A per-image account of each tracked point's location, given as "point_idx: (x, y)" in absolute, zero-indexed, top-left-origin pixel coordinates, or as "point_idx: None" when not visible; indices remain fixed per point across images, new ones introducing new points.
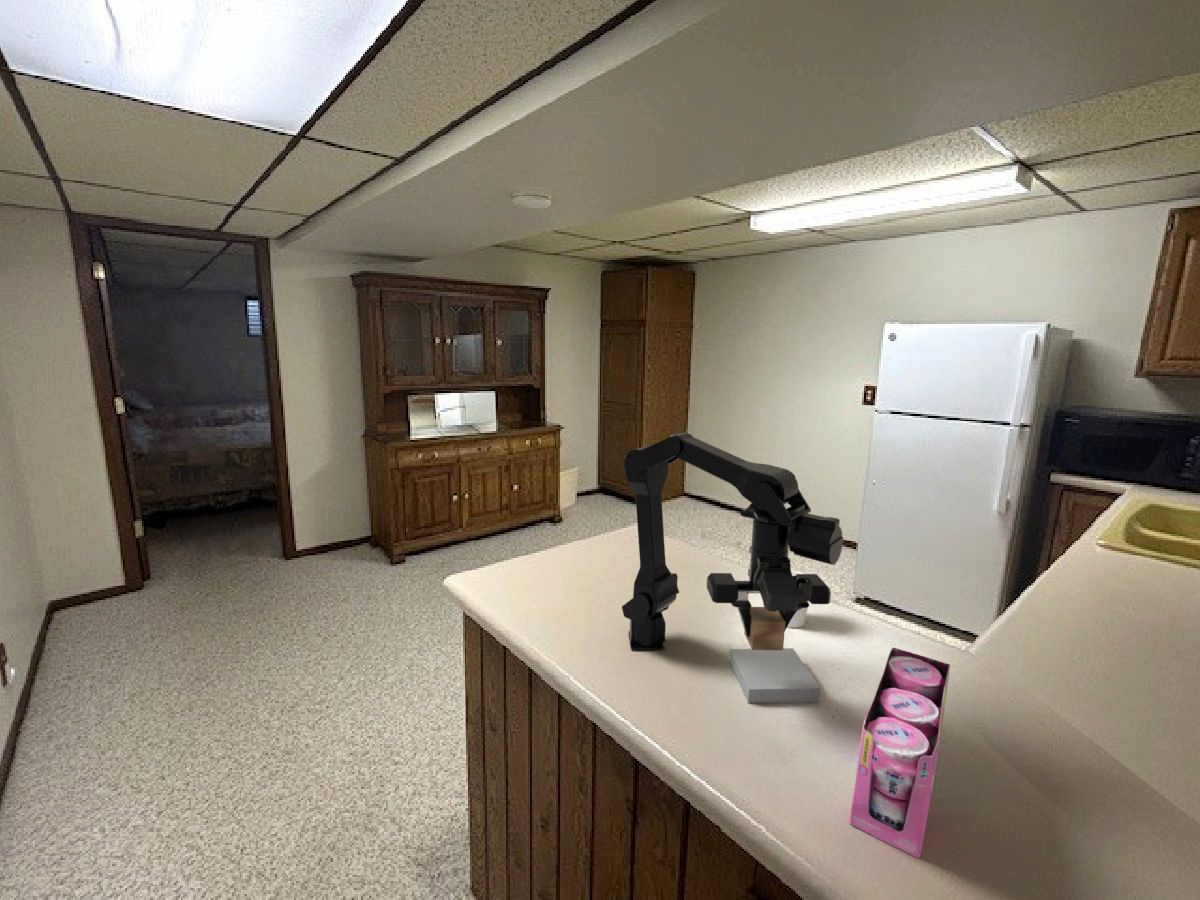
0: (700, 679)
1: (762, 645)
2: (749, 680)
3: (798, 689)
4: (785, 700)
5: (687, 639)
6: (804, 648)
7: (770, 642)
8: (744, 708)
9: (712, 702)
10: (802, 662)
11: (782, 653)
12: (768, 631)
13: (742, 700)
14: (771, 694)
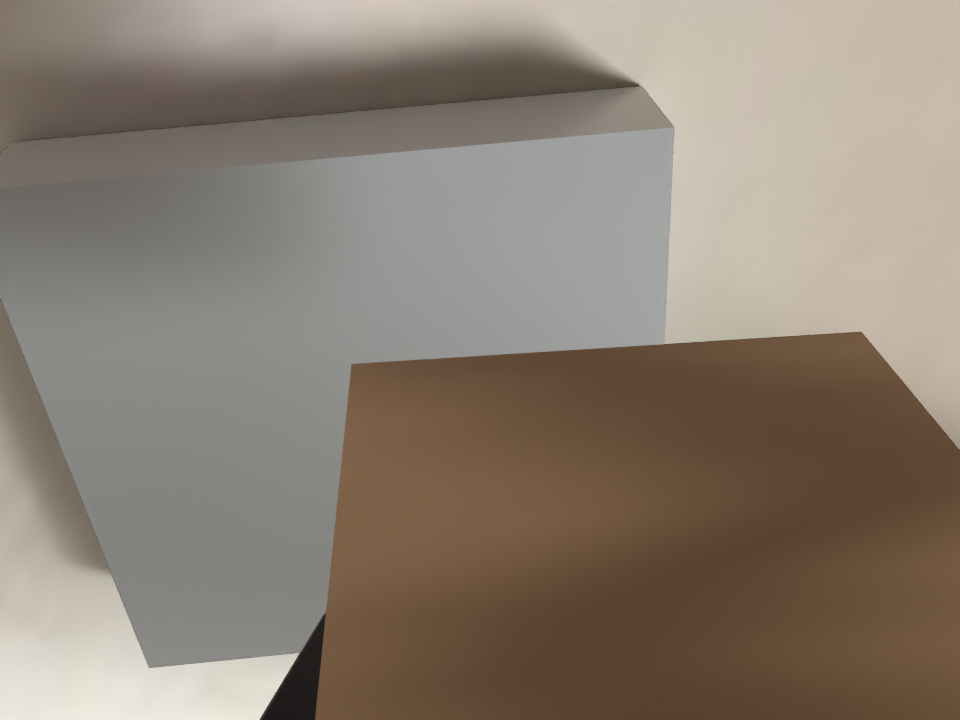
0: (914, 342)
1: (724, 388)
2: (625, 257)
3: (183, 167)
4: (314, 122)
5: None
6: (65, 702)
7: (595, 434)
8: (697, 8)
9: (940, 72)
10: (93, 523)
11: (244, 607)
12: (716, 603)
13: (678, 116)
14: (446, 129)
